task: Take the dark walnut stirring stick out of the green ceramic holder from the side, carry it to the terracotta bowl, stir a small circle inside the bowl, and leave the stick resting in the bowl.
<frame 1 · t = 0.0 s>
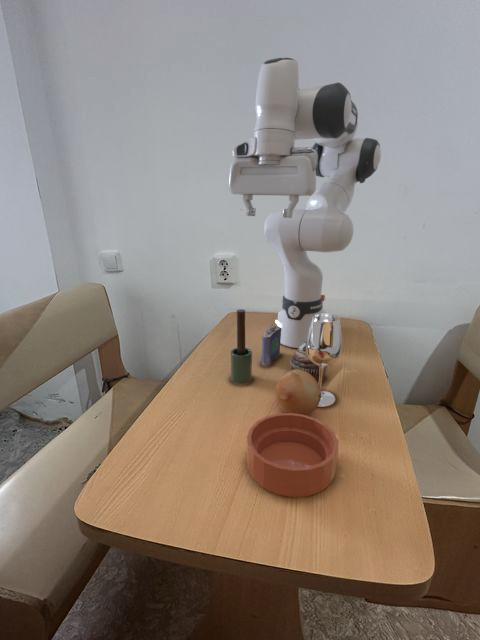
hand: (268, 216, 85), 39 cm above the table, tool pointing down, fingers open, 8 cm apart
stick: (241, 378, 95), point 1 cm above the table, touching holder
onion: (296, 413, 82), on the table
blue box: (270, 361, 105), on the table
cupcake: (307, 378, 96), on the table
holder: (241, 380, 95), on the table
bowl: (290, 465, 66), on the table
wineglass: (318, 399, 87), on the table
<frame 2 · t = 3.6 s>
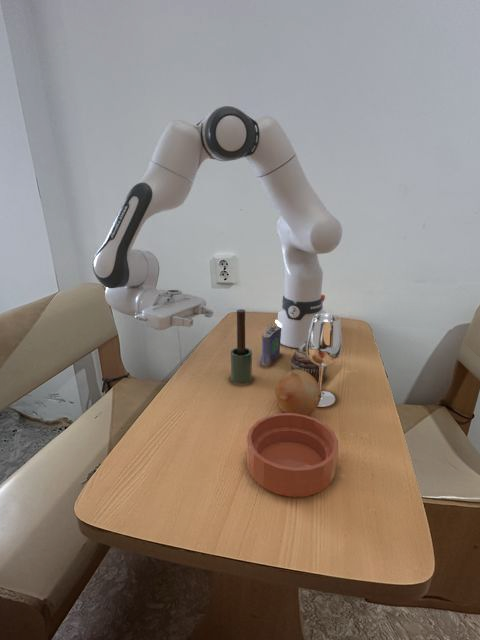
hand: (202, 318, 94), 15 cm above the table, tool horizontal, fingers open, 8 cm apart
nothing on the table moved.
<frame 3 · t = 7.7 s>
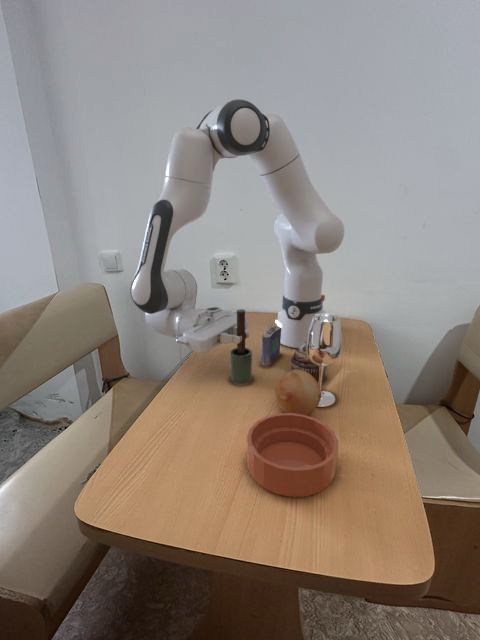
hand: (244, 337, 89), 12 cm above the table, tool horizontal, fingers closed on stick, 2 cm apart
stick: (241, 378, 95), point 1 cm above the table, touching gripper, holder
everything else where it was.
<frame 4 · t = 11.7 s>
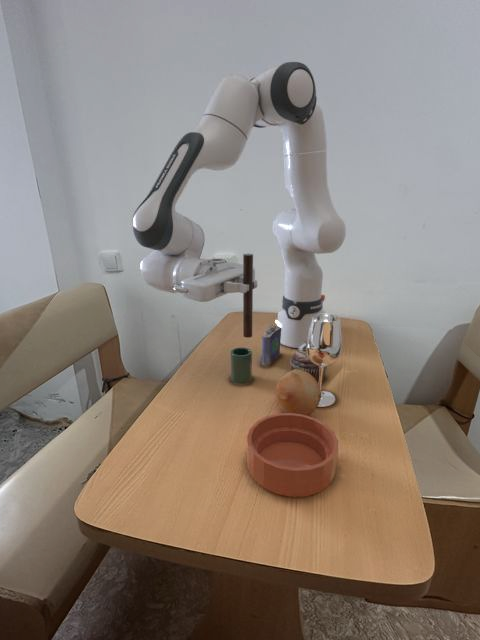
hand: (251, 286, 78), 26 cm above the table, tool horizontal, fingers closed on stick
stick: (247, 335, 84), point 15 cm above the table, touching gripper
everything else where it was.
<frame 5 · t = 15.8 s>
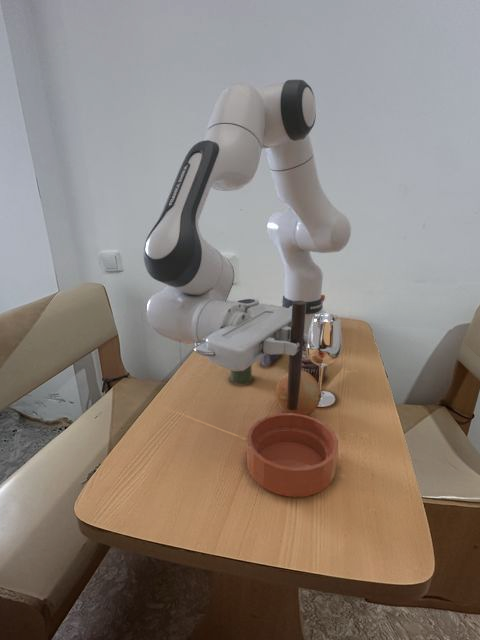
hand: (302, 345, 56), 24 cm above the table, tool horizontal, fingers closed on stick
stick: (292, 407, 62), point 12 cm above the table, touching gripper
everything else where it was.
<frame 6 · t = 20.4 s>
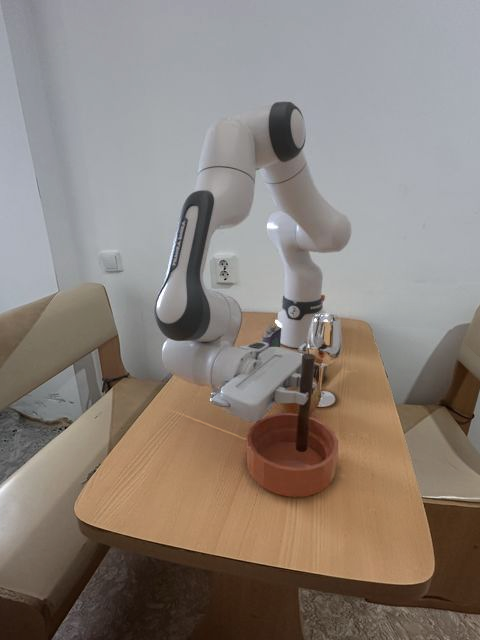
hand: (311, 394, 60), 15 cm above the table, tool horizontal, fingers closed on stick, 2 cm apart
stick: (301, 448, 65), point 3 cm above the table, touching gripper
everything else where it was.
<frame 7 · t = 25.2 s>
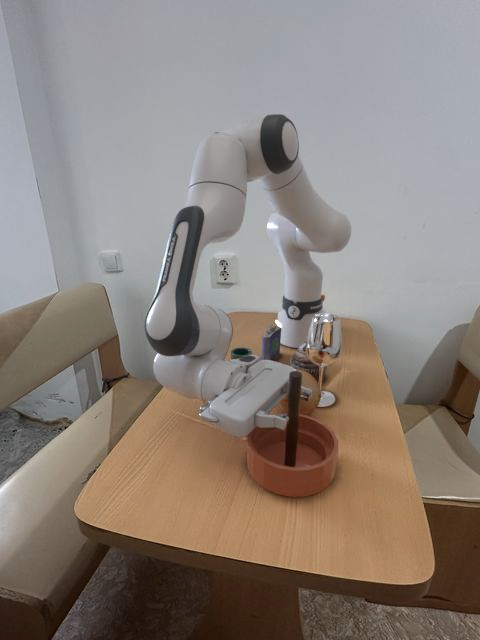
hand: (299, 408, 61), 12 cm above the table, tool horizontal, fingers open, 8 cm apart
stick: (290, 463, 66), point 1 cm above the table, touching bowl
everything else where it was.
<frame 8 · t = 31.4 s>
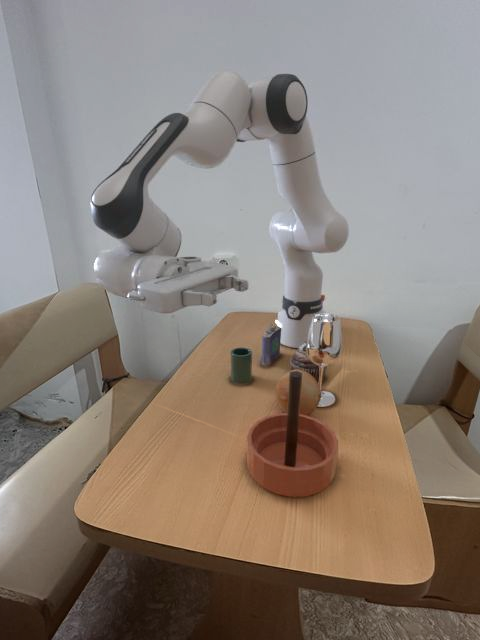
hand: (231, 292, 60), 30 cm above the table, tool horizontal, fingers open, 8 cm apart
nothing on the table moved.
at the end: stick inside the target area in the bowl (0.1 cm from its centre), point 0.6 cm above the bowl's base; stick touching bowl; the gripper is holding nothing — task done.
